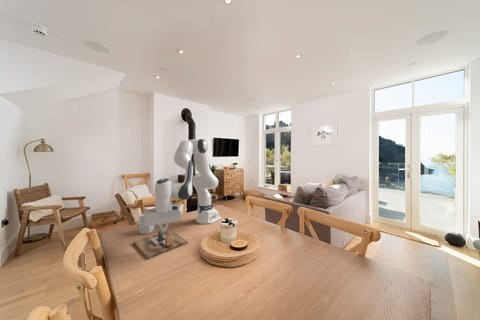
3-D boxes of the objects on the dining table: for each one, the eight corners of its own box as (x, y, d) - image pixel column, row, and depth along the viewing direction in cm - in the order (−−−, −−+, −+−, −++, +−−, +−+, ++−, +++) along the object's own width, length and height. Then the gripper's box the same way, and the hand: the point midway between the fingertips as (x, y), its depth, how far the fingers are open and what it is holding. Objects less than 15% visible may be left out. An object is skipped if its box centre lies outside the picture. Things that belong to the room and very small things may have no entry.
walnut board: (170, 232, 130) (170, 221, 130) (187, 243, 114) (188, 231, 114) (133, 243, 112) (133, 232, 112) (147, 259, 96) (148, 245, 96)
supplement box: (149, 233, 127) (149, 216, 127) (139, 233, 127) (139, 215, 127) (154, 229, 134) (154, 212, 134) (144, 229, 134) (144, 212, 134)
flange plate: (150, 240, 113) (150, 231, 113) (164, 236, 119) (164, 227, 119) (161, 250, 102) (161, 239, 102) (176, 244, 109) (176, 234, 109)
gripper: (143, 211, 97) (143, 236, 98) (182, 206, 106) (182, 229, 107) (143, 208, 103) (143, 231, 103) (180, 203, 112) (181, 225, 112)
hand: (163, 230), depth 105 cm, fingers closed
